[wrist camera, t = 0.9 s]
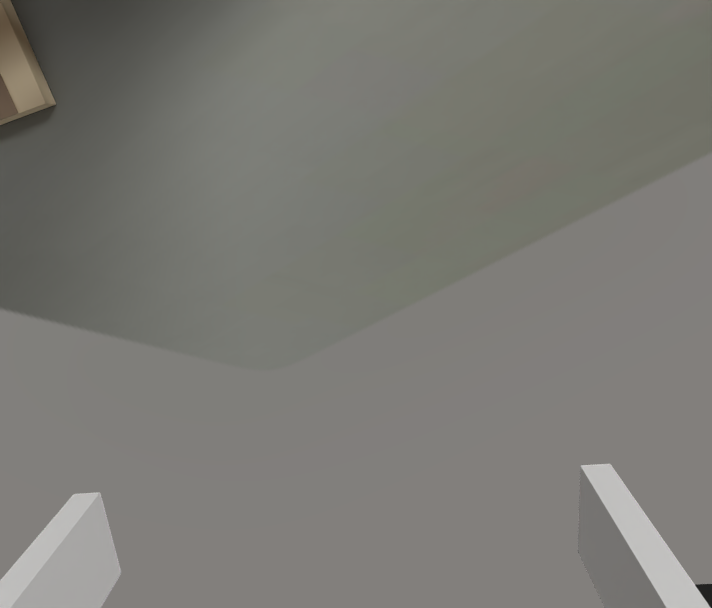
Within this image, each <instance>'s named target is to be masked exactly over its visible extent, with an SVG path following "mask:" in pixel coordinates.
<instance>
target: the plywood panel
mask: <svg viewBox="0 0 712 608" xmlns="http://www.w3.org/2000/svg"><path fill="white" fill-rule="evenodd" d="M53 105H56V102H55V100H54V98H53V96H52V93H51V91H50V89H49V87H48V84H47V82H46V80H45V77H44V75H43V73H42V71H41V68H40V66H39V64H38V62H37V59H36V57H35V55H34V53H33V50H32V48H31V46H30V43H29V41H28V39H27V37H26V34H25V32H24V30H23V28H22V25H21V23H20V21H19V19H18V16H17V14H16V12H15V9H14V7H13V5H12V3H11V0H0V125H2V124H5V123H8V122H10V121H13V120H16V119H18V118H21V117H24V116H26V115H29V114H32V113H35V112H37V111H40V110H43V109H45V108H48V107H51V106H53Z"/></svg>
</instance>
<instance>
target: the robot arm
mask: <svg viewBox="0 0 712 608" xmlns="http://www.w3.org/2000/svg"><path fill="white" fill-rule="evenodd" d="M578 553H579V555H580V557H581V559H582V561H583V563H584V566H585V568H586V570H587V572H588V574H589V576H590V578H591V580H592V582H593V584H594V587H595V589H596V591H597V593H598V595H599V597H600V599H601V601H602V603H603V605H604V608H712V584H700V585H694V583H693V582H692V581H691V579H690V577H689V576H688V575H687V573H686V572H685V570H684V569H683V568H682V566H681V565H680V563H679V562H678V560H677V559H676V557H675V556H674V555H673V553H672V552H671V550H670V549H669V547H668V546H667V545H666V543H665V542H664V540H663V539H662V538H661V536H660V534H659V533H658V532H657V530H656V529H655V527H654V526H653V525H652V523H651V522H650V520H649V519H648V517H647V516H646V514H645V513H644V512H643V510H642V509H641V507H640V506H639V505H638V503H637V502H636V500H635V499H634V497H633V496H632V494H631V493H630V492H629V490H628V489H627V487H626V486H625V485H624V483H623V482H622V480H621V479H620V477H619V476H618V474H617V473H616V472H615V470H614V469H613V467H612V466H611V464H599V465H581V466H580V496H579V533H578ZM120 574H121V569H120V566H119V562H118V558H117V554H116V551H115V547H114V543H113V539H112V535H111V532H110V528H109V524H108V520H107V516H106V513H105V509H104V505H103V502H102V497H101V494H100V493H83V494H74V495H73V496H72V497H71V498H70V499H69V500H68V502H67V503H66V504H65V505H64V506H63V507H62V509H61V510H60V511H59V512H58V513H57V515H56V516H55V517H54V518H53V519H52V520H51V522H50V523H49V524H48V525H47V526H46V527H45V529H44V530H43V531H42V532H41V533H40V534H39V536H38V537H37V538H36V539H35V540H34V542H33V543H32V544H31V545H30V546H29V548H28V549H27V550H26V551H25V552H24V553H23V555H22V556H21V557H20V558H19V559H18V560H17V562H16V563H15V564H14V565H13V566H12V567H11V569H10V570H9V571H8V572H7V573H6V575H5V576H4V577H3V578H2V579H1V580H0V608H101V607H102V605H103V603H104V601H105V600H106V598H107V596H108V595H109V593H110V591H111V590H112V588H113V586H114V584H115V583H116V581H117V579H118V578H119V576H120Z"/></svg>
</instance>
